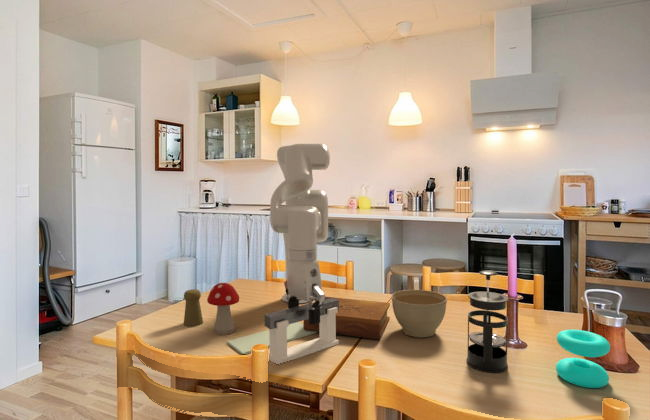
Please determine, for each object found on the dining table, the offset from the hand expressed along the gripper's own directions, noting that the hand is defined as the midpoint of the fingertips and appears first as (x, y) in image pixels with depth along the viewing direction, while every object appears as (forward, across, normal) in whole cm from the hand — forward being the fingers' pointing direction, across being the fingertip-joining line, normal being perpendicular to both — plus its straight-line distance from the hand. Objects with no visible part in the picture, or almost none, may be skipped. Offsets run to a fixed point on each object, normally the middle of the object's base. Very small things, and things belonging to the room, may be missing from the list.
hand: (303, 318), depth 104 cm
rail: (0, 0, 0) cm, 0 cm away
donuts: (+9, -52, -40) cm, 66 cm away
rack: (+9, 0, 0) cm, 9 cm away
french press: (+9, -35, -30) cm, 47 cm away
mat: (+9, +13, +2) cm, 16 cm away
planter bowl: (+9, -11, -34) cm, 37 cm away
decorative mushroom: (+9, +27, +11) cm, 31 cm away
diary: (+9, +6, -21) cm, 24 cm away
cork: (+9, +40, +16) cm, 44 cm away
